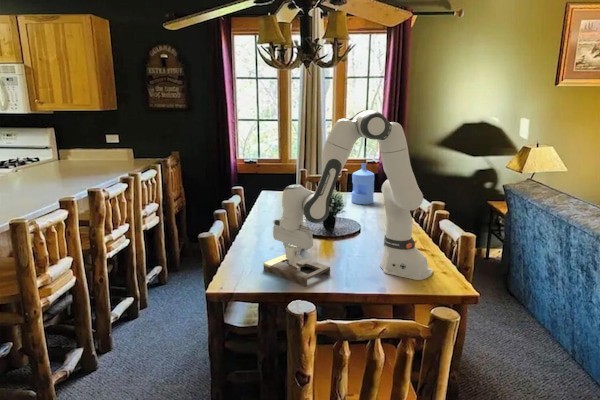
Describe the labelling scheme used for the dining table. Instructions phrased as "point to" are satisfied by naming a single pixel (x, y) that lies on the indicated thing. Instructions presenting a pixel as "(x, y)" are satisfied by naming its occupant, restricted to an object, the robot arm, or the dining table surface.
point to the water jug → (363, 186)
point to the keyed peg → (292, 256)
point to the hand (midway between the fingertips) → (292, 253)
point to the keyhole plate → (295, 269)
